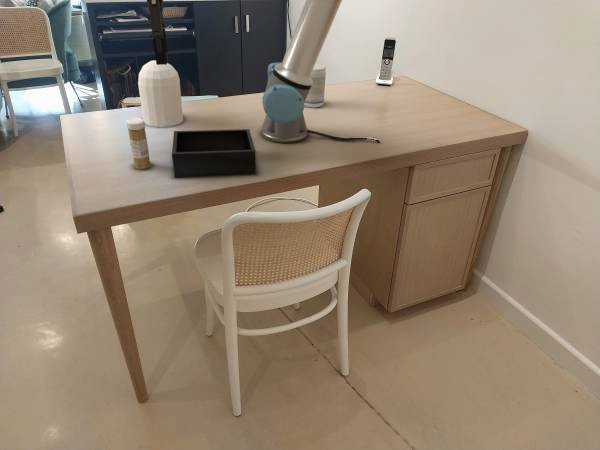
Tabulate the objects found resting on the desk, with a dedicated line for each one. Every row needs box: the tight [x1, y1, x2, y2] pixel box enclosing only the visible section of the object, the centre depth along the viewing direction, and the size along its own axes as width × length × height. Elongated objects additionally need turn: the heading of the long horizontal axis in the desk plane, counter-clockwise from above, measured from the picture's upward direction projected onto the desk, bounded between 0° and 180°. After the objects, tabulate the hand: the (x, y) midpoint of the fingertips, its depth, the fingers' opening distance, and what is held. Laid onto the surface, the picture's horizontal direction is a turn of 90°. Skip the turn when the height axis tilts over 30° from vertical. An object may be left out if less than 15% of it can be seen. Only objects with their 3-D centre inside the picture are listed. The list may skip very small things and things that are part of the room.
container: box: [137, 59, 184, 128], centre depth 151 cm, size 13×13×20 cm
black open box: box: [171, 128, 257, 179], centre depth 128 cm, size 22×16×7 cm
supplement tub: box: [304, 63, 327, 108], centre depth 174 cm, size 10×10×15 cm
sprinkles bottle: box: [126, 117, 152, 170], centre depth 123 cm, size 5×5×13 cm
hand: (162, 58), depth 125 cm, fingers open, 13 cm apart
